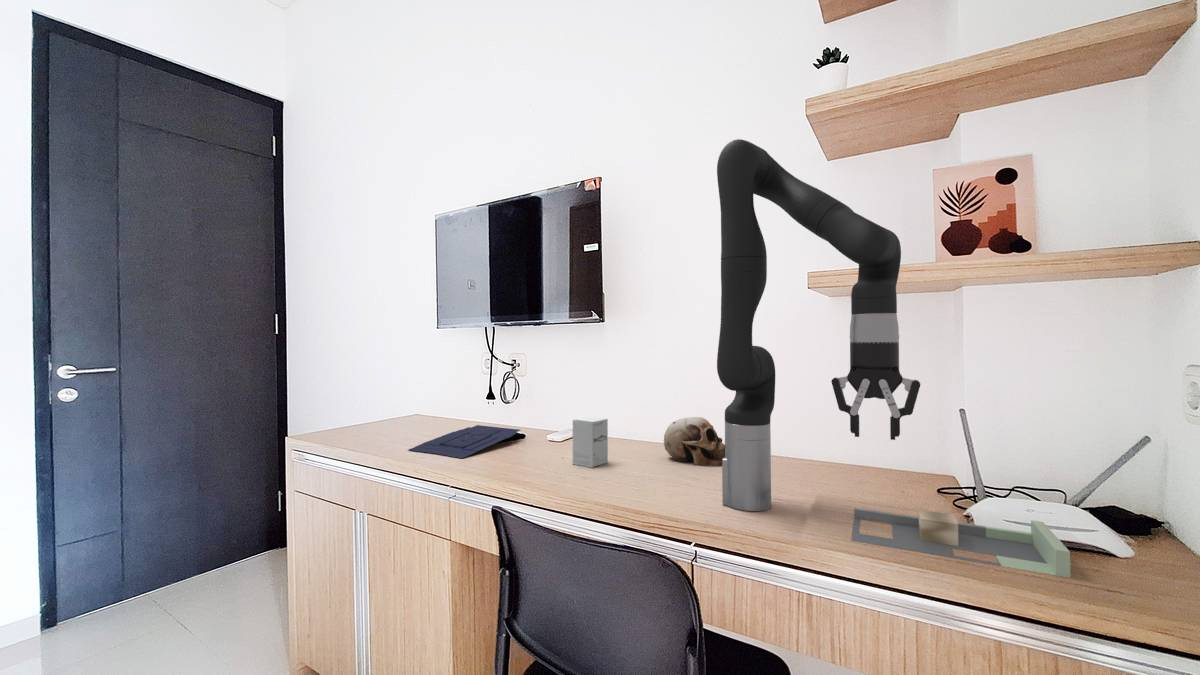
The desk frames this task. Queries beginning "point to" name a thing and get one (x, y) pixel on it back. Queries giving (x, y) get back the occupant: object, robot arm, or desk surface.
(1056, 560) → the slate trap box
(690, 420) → the human skull
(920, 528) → the maple block
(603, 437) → the supplement box
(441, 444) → the navy blue folder
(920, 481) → the desk surface
